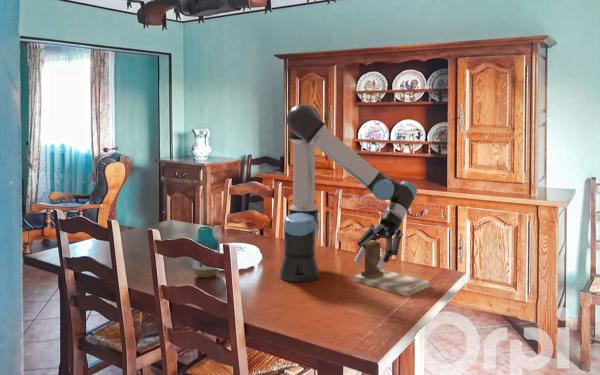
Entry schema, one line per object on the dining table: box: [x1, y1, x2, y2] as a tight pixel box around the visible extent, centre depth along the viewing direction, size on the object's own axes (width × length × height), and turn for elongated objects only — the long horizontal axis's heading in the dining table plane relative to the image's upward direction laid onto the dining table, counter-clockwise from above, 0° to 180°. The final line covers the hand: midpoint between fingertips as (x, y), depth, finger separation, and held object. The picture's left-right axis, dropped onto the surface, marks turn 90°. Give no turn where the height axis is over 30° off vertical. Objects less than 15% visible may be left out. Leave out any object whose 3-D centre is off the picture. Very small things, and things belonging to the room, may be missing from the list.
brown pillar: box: [360, 240, 383, 279], centre depth 200 cm, size 6×6×13 cm
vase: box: [191, 225, 221, 279], centre depth 205 cm, size 11×11×19 cm
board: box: [352, 269, 431, 297], centre depth 198 cm, size 24×14×2 cm, turn 46°
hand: (367, 265), depth 198 cm, fingers open, 10 cm apart
